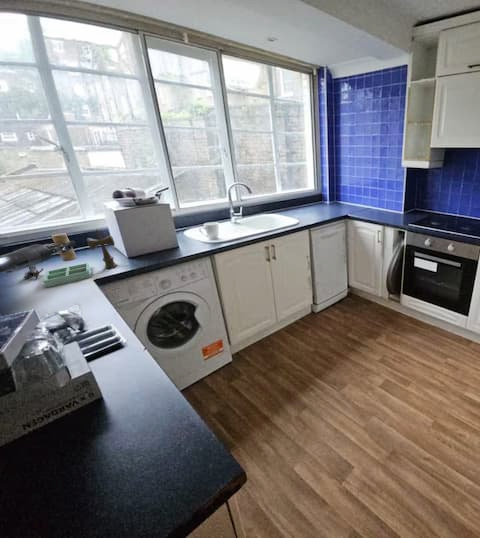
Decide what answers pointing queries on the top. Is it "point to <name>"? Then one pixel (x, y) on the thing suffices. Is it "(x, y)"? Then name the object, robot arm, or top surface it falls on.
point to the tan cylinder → (63, 239)
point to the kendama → (103, 249)
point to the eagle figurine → (32, 272)
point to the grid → (67, 274)
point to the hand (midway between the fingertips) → (68, 243)
